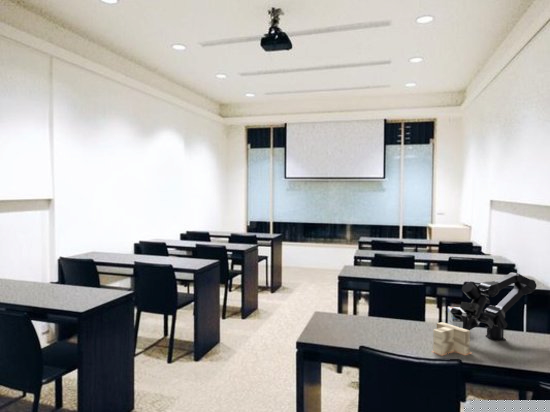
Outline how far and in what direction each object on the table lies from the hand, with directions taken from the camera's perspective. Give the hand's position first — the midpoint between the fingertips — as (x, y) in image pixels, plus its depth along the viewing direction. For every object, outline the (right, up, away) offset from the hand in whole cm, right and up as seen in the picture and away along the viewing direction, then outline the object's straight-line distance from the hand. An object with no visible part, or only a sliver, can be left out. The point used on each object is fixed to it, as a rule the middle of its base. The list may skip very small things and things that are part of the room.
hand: (463, 332), depth 181 cm
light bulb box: (+7, -6, +23) cm, 24 cm away
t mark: (-10, -6, -6) cm, 14 cm away
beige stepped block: (-11, -6, -6) cm, 14 cm away
